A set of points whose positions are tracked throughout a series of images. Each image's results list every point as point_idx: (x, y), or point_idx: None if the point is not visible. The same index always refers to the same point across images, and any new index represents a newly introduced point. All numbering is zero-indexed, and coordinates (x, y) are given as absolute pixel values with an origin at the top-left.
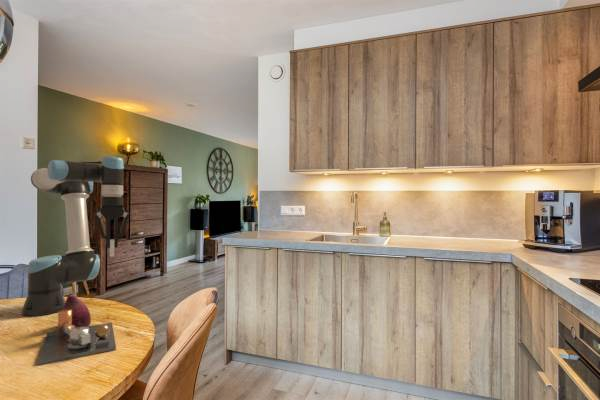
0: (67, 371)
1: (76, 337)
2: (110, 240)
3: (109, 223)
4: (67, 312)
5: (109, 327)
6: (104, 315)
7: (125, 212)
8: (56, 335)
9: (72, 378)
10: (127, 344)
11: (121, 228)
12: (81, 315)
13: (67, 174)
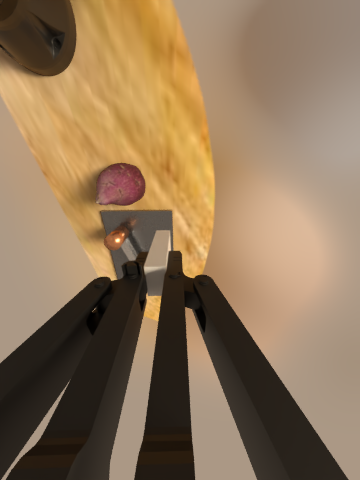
0: None
1: None
2: (150, 294)
3: (105, 441)
4: (117, 249)
5: (169, 229)
6: (162, 149)
7: None
8: (114, 227)
9: (147, 304)
10: (183, 271)
11: (213, 357)
12: (131, 203)
13: None
